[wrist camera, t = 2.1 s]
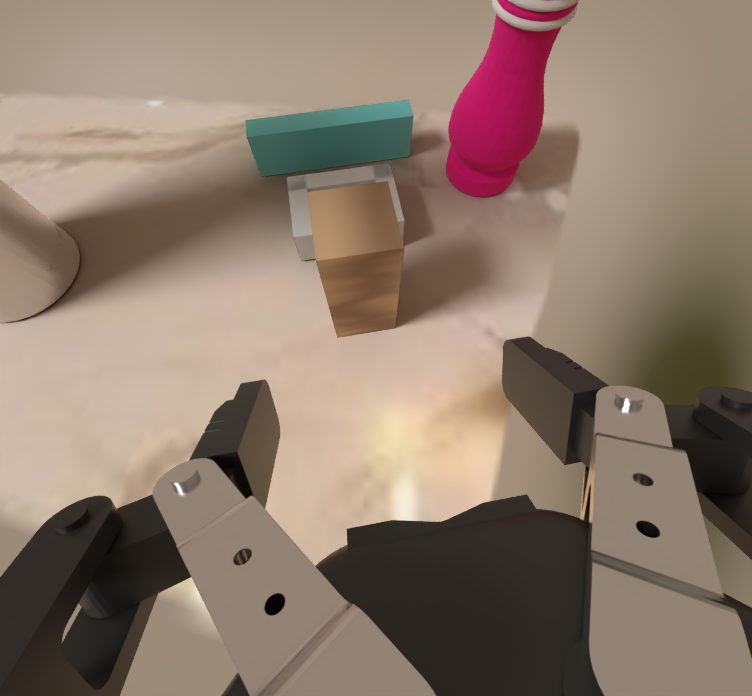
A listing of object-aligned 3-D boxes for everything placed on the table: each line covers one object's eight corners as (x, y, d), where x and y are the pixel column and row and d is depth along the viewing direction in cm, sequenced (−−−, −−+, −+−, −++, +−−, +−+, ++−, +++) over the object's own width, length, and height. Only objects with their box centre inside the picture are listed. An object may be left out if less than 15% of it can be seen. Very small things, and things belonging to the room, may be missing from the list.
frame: (301, 260, 29) (293, 237, 26) (294, 204, 31) (286, 177, 28) (402, 245, 30) (404, 220, 27) (388, 191, 32) (389, 163, 29)
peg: (337, 337, 27) (316, 261, 18) (329, 287, 29) (306, 192, 19) (395, 328, 27) (404, 247, 18) (384, 278, 29) (387, 180, 19)
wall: (261, 176, 33) (246, 137, 29) (260, 160, 33) (245, 120, 30) (409, 156, 34) (413, 115, 30) (405, 141, 34) (408, 99, 30)
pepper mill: (448, 137, 34) (531, -273, 16) (522, 151, 34) (702, -261, 15) (433, 193, 32) (511, -214, 13) (513, 209, 31) (714, -197, 13)
